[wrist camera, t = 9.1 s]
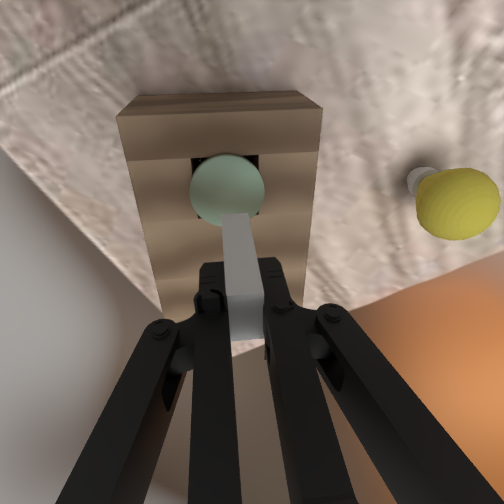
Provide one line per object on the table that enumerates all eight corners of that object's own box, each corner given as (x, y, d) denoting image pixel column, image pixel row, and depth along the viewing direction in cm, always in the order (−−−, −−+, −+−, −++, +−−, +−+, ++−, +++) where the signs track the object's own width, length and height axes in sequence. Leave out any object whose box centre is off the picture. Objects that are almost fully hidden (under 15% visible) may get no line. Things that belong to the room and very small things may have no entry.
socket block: (137, 95, 28) (115, 116, 21) (296, 90, 29) (322, 108, 22) (175, 288, 40) (169, 339, 34) (285, 279, 41) (300, 326, 35)
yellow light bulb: (375, 179, 35) (427, 225, 27) (430, 132, 33) (505, 167, 24) (405, 215, 38) (459, 266, 30) (457, 175, 36) (531, 219, 28)
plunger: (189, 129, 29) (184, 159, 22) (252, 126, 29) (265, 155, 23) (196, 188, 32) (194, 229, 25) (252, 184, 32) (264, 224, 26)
